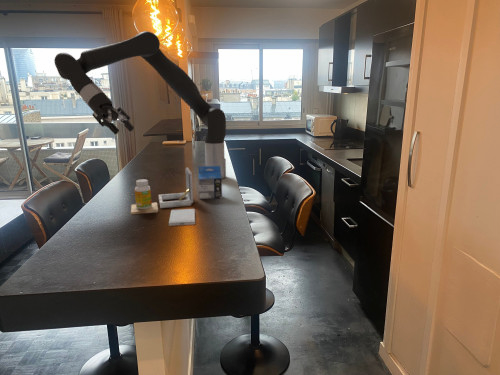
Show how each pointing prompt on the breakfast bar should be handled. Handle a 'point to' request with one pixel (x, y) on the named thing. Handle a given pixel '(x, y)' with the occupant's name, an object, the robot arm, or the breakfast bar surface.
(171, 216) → the hard drive
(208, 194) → the blue and grey carton
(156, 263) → the breakfast bar surface
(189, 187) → the open hinged lid box
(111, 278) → the breakfast bar surface
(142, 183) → the supplement bottle
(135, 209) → the cork pad
